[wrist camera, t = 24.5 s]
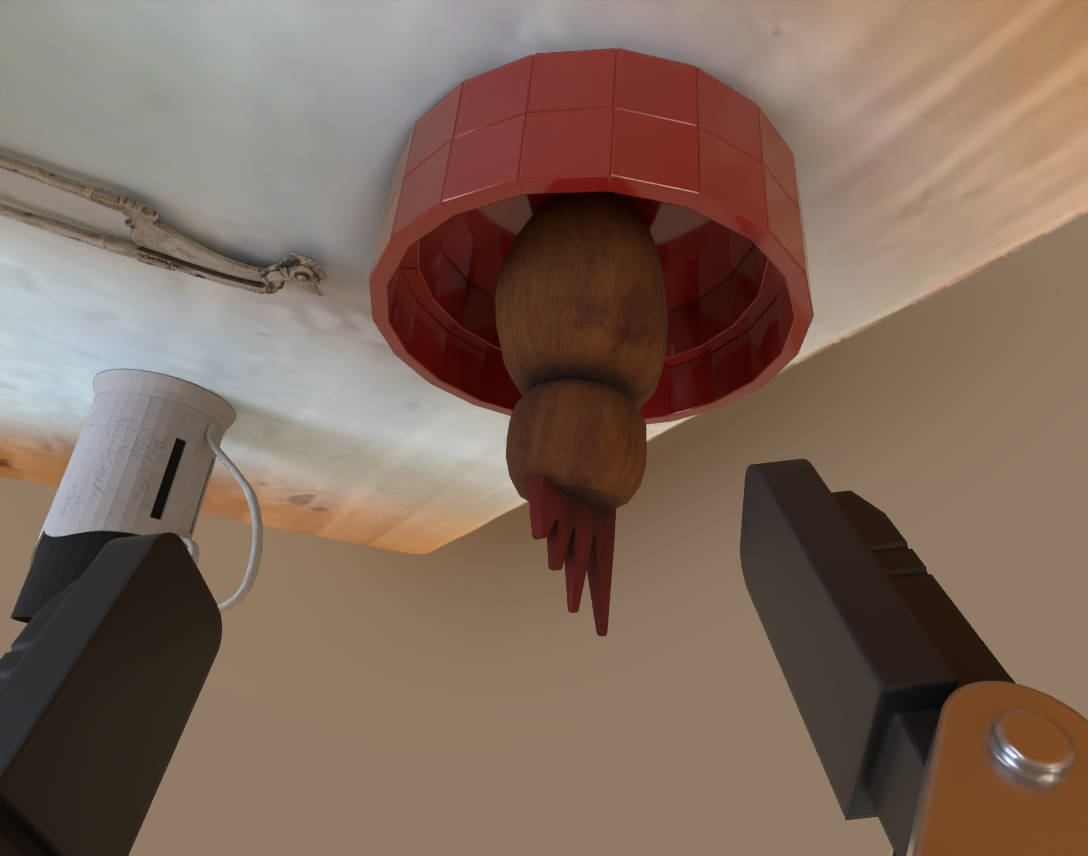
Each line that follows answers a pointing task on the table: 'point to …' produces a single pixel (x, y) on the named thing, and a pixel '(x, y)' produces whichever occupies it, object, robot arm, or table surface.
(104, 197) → the nutcracker
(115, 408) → the glass holder
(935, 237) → the table surface
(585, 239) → the wooden figurine
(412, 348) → the bowl
